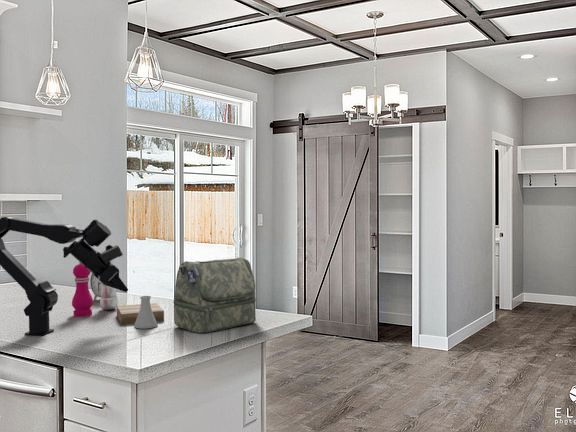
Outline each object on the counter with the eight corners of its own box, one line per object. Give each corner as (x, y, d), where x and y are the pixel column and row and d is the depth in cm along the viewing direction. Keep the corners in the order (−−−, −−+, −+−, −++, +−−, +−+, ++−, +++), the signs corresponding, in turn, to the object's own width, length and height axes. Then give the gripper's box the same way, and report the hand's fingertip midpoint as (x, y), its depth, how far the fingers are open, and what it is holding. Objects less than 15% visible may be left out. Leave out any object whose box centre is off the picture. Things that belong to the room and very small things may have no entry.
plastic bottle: (99, 311, 226) (98, 257, 226) (100, 308, 233) (99, 255, 232) (118, 310, 228) (116, 257, 228) (118, 307, 235) (117, 255, 234)
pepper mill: (86, 317, 216) (85, 260, 215) (68, 316, 218) (66, 260, 217) (97, 313, 223) (95, 258, 223) (78, 313, 225) (77, 258, 224)
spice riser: (164, 321, 209) (163, 310, 208) (121, 324, 204) (121, 313, 203) (156, 312, 224) (156, 303, 223) (116, 315, 219) (116, 306, 218)
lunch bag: (197, 336, 185) (196, 264, 184) (165, 327, 198) (164, 259, 198) (263, 323, 203) (263, 257, 202) (230, 316, 216) (229, 254, 215)
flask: (148, 323, 205) (147, 293, 204) (162, 326, 200) (161, 295, 200) (129, 327, 199) (129, 296, 199) (143, 330, 194) (143, 298, 194)
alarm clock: (90, 299, 254) (89, 263, 254) (104, 297, 259) (103, 261, 259) (105, 302, 246) (105, 265, 246) (120, 300, 252) (119, 263, 251)
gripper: (110, 239, 185) (148, 273, 190) (102, 235, 202) (137, 267, 207) (83, 266, 182) (122, 300, 187) (77, 260, 199) (113, 292, 204)
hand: (124, 289), depth 196 cm, fingers open, 9 cm apart
